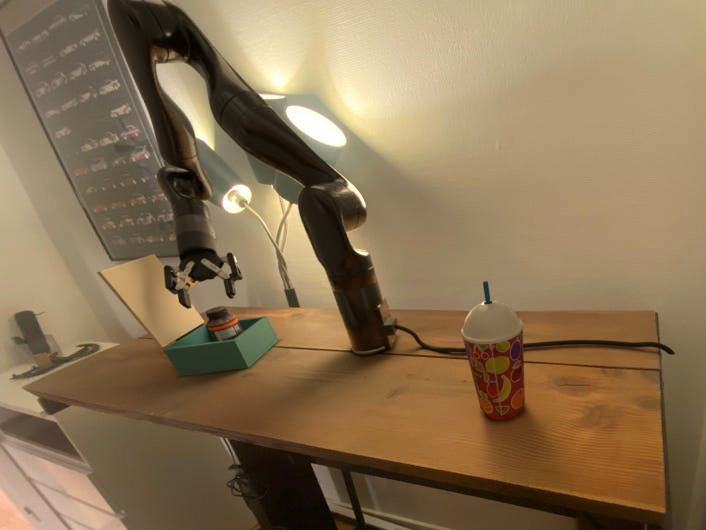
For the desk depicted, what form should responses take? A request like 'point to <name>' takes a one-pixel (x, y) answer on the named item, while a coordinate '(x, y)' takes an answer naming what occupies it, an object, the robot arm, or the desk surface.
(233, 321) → the supplement bottle
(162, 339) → the lid
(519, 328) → the smoothie
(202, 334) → the teal open box
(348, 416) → the desk surface
